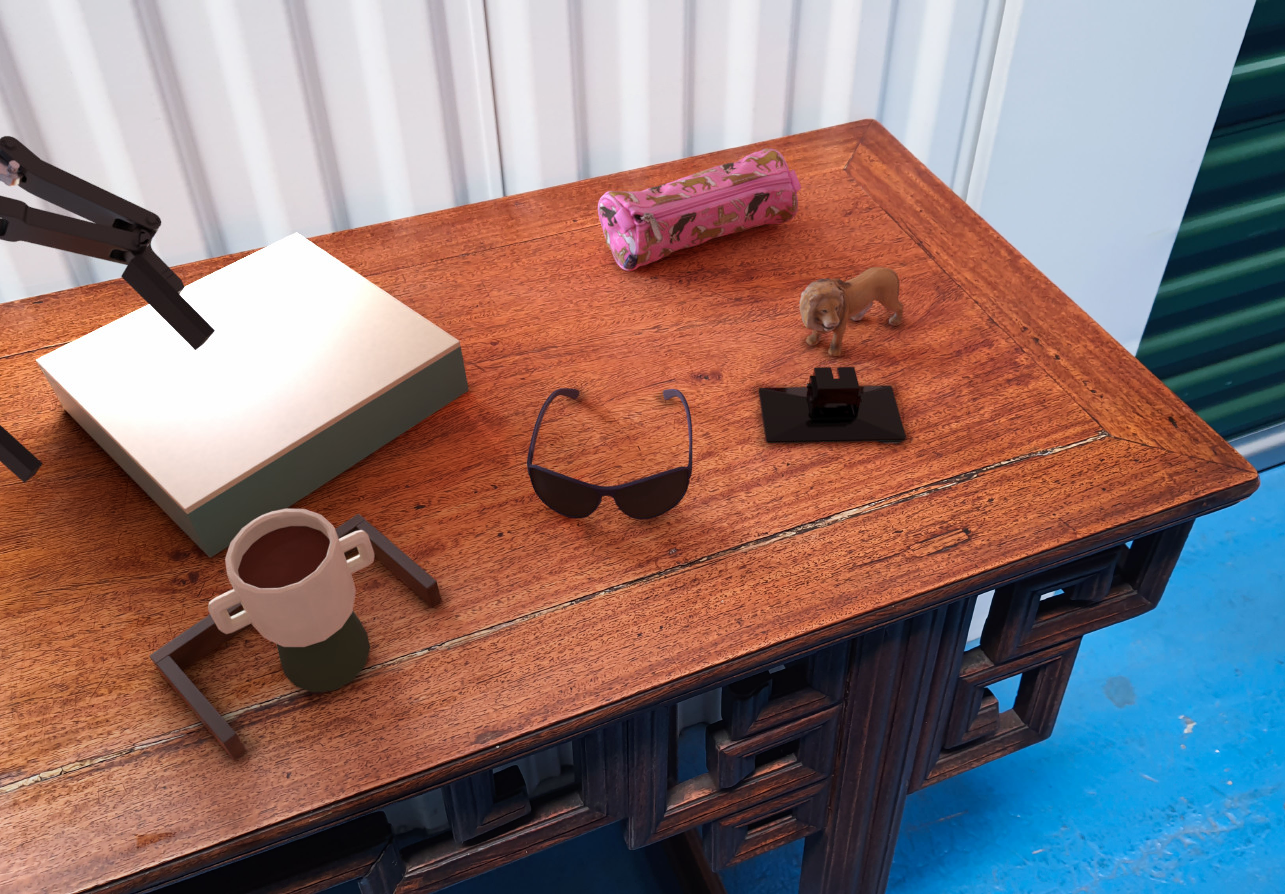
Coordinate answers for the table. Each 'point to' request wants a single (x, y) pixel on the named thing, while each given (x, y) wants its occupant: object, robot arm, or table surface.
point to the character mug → (299, 595)
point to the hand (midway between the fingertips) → (125, 403)
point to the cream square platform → (256, 387)
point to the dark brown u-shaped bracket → (209, 637)
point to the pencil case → (698, 208)
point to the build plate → (831, 411)
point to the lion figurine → (847, 303)
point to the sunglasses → (631, 498)
